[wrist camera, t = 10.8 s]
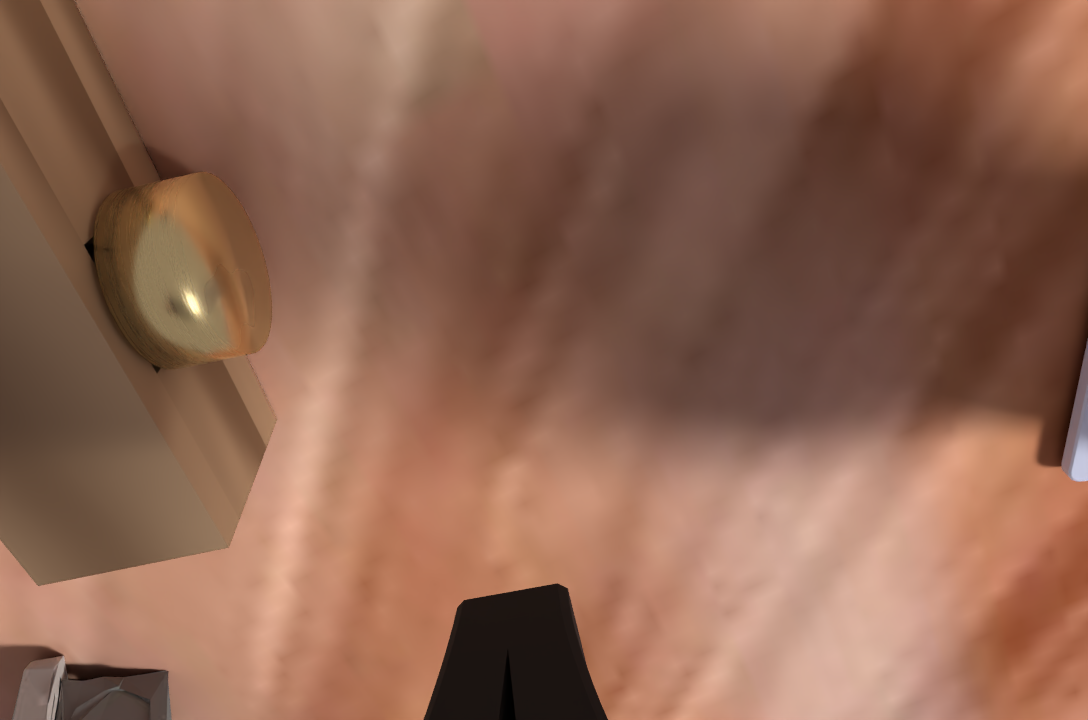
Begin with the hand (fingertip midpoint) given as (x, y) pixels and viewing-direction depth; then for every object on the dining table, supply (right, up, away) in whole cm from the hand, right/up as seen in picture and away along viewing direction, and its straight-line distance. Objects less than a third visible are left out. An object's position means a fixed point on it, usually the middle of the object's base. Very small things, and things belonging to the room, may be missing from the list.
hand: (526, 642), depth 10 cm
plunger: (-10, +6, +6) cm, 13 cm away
